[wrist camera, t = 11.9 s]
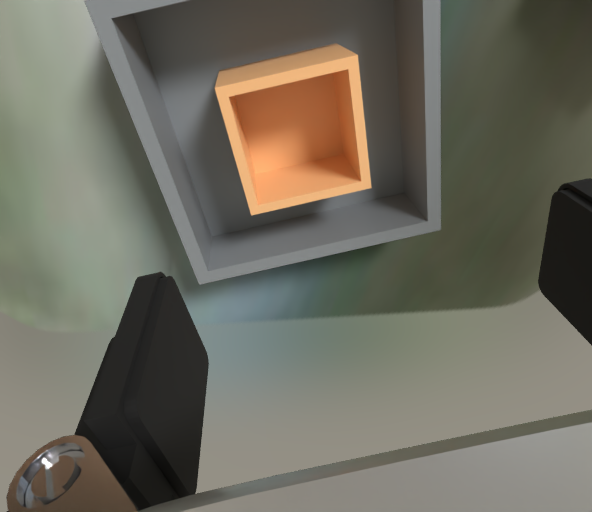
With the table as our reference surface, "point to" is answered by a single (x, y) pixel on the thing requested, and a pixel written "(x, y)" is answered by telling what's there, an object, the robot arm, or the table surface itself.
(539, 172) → the table surface
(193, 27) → the grey square tray
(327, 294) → the table surface
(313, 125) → the orange crate
